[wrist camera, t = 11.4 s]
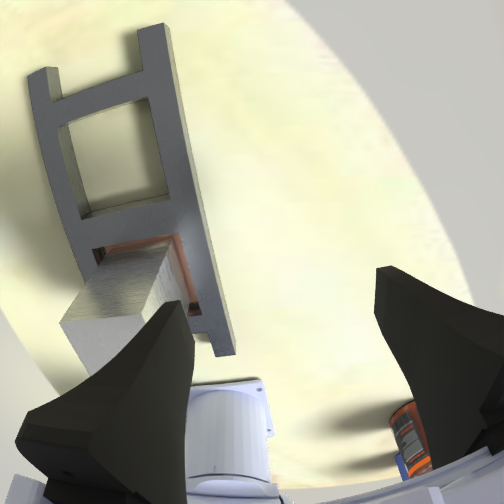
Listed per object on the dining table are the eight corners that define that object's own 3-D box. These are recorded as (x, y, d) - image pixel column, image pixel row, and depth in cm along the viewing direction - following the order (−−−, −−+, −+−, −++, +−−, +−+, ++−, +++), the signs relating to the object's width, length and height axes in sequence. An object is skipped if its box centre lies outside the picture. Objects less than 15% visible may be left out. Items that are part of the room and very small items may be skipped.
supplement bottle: (382, 430, 32) (408, 507, 22) (395, 402, 30) (429, 487, 19) (424, 419, 32) (454, 490, 22) (440, 390, 30) (478, 467, 20)
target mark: (199, 299, 22) (198, 301, 22) (129, 308, 23) (128, 310, 22) (179, 228, 20) (178, 230, 20) (104, 242, 20) (103, 244, 20)
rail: (235, 341, 24) (235, 354, 23) (129, 351, 25) (124, 364, 23) (169, 28, 15) (163, 22, 13) (39, 76, 15) (27, 76, 13)
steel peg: (191, 296, 22) (173, 384, 15) (132, 304, 22) (98, 387, 15) (173, 236, 20) (141, 314, 13) (110, 248, 20) (59, 322, 13)
